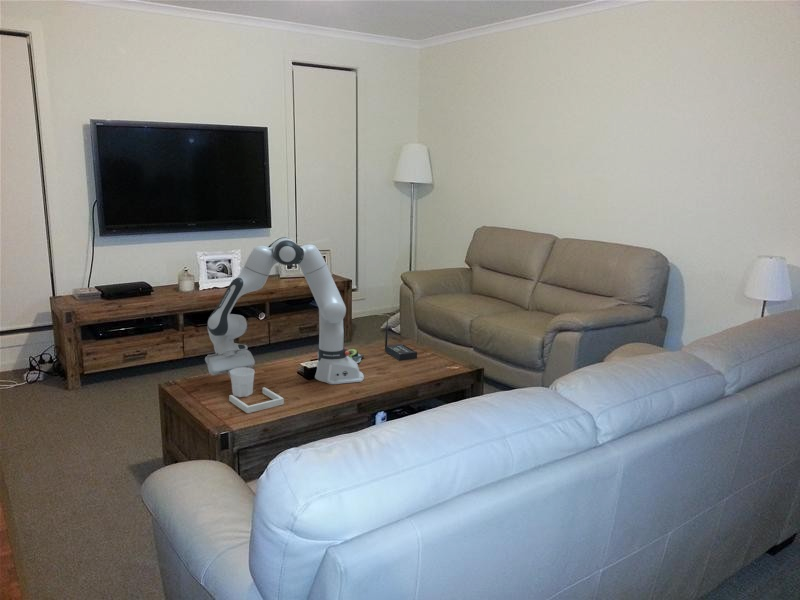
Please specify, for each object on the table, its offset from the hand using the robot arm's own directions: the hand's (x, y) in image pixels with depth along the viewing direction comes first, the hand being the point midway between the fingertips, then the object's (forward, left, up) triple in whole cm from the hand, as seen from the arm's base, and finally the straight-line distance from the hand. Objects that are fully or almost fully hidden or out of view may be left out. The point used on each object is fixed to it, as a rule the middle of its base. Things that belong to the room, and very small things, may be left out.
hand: (237, 379), depth 264 cm
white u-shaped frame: (-8, +14, -5) cm, 17 cm away
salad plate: (-51, -38, -5) cm, 64 cm away
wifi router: (-80, -46, -5) cm, 92 cm away
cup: (-2, +4, -5) cm, 7 cm away
